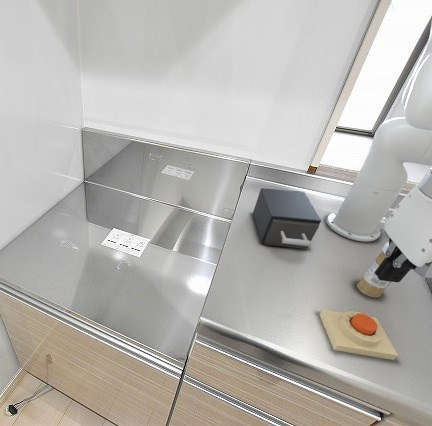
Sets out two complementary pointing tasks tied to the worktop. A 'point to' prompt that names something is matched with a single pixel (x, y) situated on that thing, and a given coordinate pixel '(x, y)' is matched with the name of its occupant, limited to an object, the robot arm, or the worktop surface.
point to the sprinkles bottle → (374, 277)
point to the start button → (363, 324)
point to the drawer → (291, 233)
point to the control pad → (356, 336)
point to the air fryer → (281, 209)
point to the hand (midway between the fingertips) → (386, 277)
